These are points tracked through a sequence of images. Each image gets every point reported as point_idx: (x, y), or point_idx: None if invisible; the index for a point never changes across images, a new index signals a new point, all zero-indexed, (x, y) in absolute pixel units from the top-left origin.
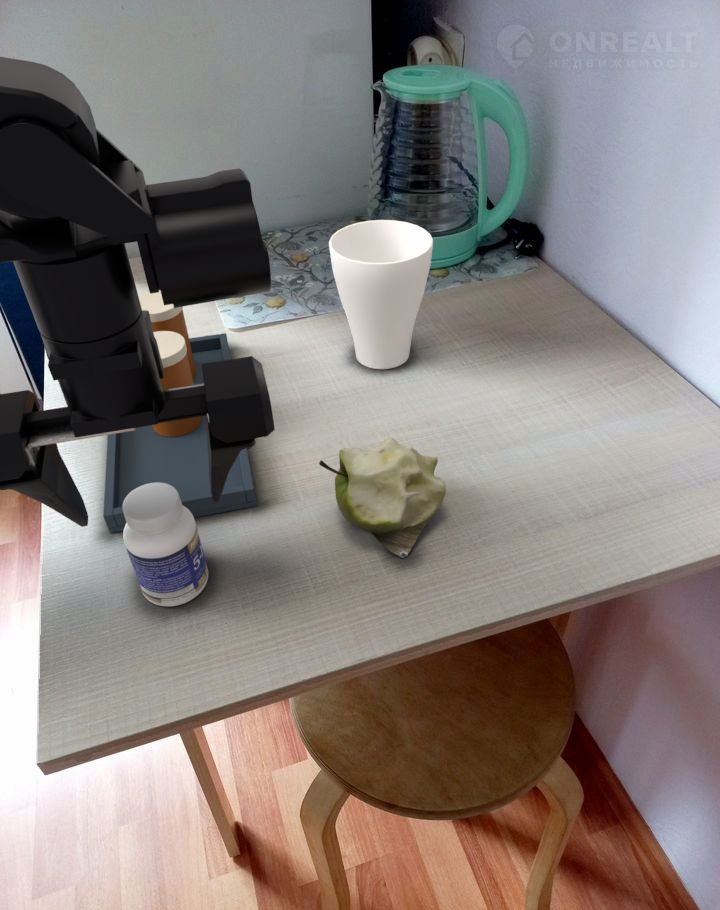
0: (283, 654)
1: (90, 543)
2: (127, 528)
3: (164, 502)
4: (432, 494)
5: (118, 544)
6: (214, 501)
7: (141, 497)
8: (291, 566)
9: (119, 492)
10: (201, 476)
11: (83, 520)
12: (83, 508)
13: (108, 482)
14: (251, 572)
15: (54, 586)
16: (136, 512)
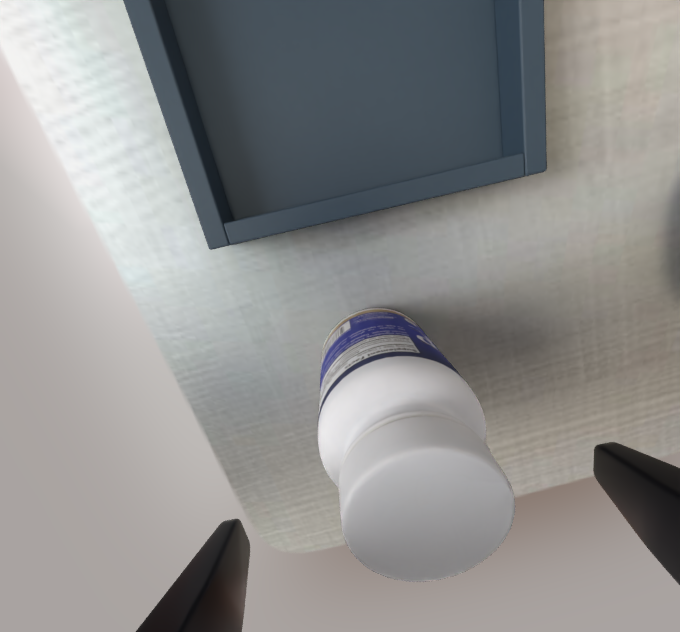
0: (526, 464)
1: (197, 268)
2: (335, 469)
3: (473, 527)
4: None
5: (253, 272)
6: (605, 490)
7: (397, 507)
8: (558, 331)
9: (205, 125)
10: (395, 72)
11: (245, 594)
12: (230, 580)
13: (174, 123)
14: (493, 341)
15: (176, 360)
16: (393, 560)
